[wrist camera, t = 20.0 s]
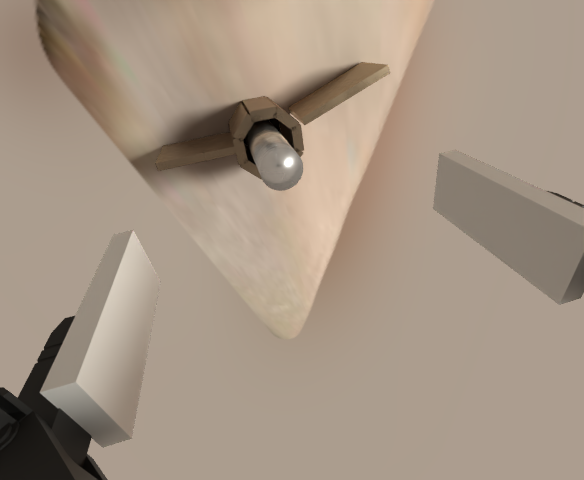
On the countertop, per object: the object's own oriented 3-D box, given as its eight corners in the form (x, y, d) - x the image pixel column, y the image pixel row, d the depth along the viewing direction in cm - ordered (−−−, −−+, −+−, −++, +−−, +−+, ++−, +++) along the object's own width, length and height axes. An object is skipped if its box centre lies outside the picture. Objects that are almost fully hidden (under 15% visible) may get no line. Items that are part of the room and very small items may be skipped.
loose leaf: (292, 116, 38) (306, 127, 33) (288, 107, 38) (301, 118, 32) (364, 71, 37) (391, 75, 32) (361, 62, 37) (388, 64, 31)
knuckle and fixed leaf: (152, 118, 35) (140, 133, 29) (282, 92, 37) (297, 101, 31) (175, 176, 39) (168, 201, 33) (291, 151, 41) (306, 170, 34)
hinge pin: (239, 117, 37) (255, 153, 25) (268, 111, 37) (300, 143, 25) (246, 147, 39) (265, 194, 27) (274, 141, 39) (305, 185, 27)
